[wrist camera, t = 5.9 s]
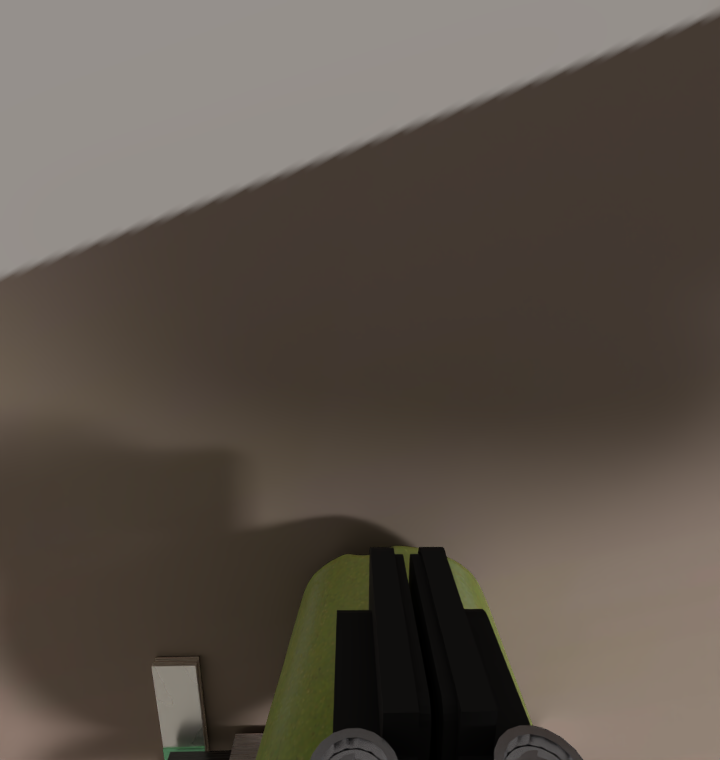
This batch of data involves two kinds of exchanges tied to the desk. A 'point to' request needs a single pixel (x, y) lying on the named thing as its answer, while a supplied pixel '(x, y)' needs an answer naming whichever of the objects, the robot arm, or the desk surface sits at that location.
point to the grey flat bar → (239, 756)
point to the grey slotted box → (180, 704)
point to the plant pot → (332, 653)
